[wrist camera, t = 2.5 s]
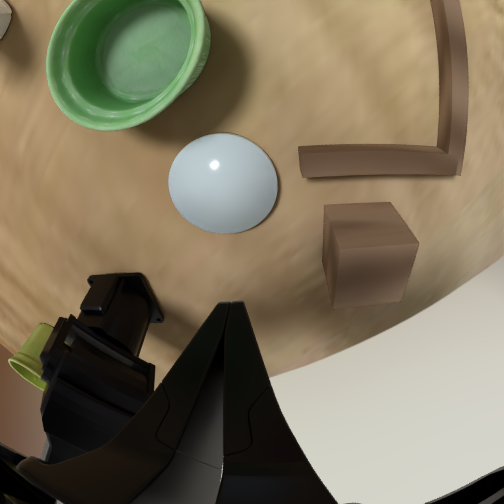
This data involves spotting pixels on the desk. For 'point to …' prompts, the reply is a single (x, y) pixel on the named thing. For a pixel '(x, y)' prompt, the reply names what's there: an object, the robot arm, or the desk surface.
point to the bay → (412, 156)
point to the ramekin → (125, 59)
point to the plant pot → (32, 356)
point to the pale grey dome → (223, 183)
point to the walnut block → (366, 254)
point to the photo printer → (4, 17)
